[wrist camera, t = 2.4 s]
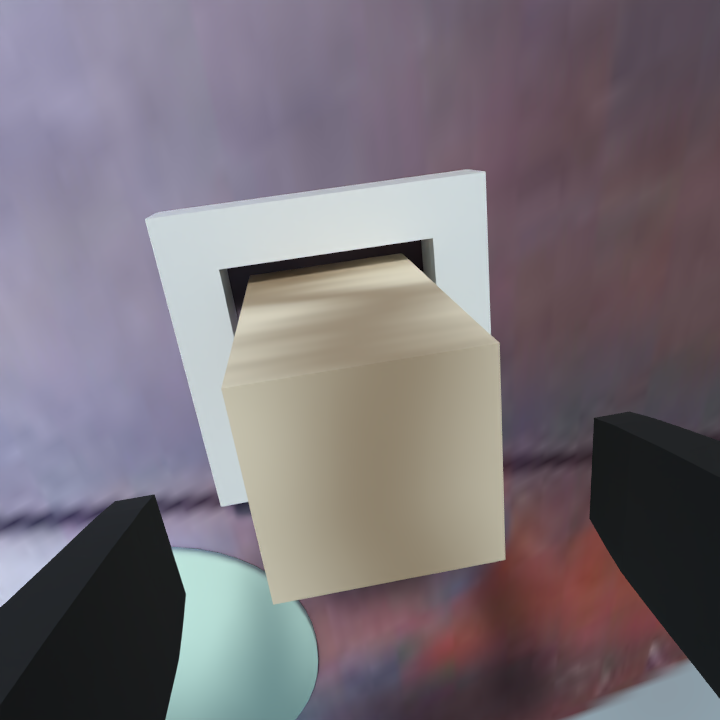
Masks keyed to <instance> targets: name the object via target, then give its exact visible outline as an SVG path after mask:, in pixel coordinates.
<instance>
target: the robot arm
mask: <svg viewBox="0 0 720 720" xmlns="http://www.w3.org/2000/svg"><path fill="white" fill-rule="evenodd" d="M590 520H591V522H592V524H593V525H594V527H595V529H596V531H597V532H598V534H599V536H600V538H601V539H602V541H603V543H604V545H605V546H606V548H607V550H608V551H609V553H610V555H611V556H612V558H613V559H614V561H615V563H616V564H617V566H618V568H619V569H620V571H621V572H622V574H623V575H624V576H625V578H626V579H627V580H628V582H629V583H630V584H631V586H632V587H633V588H634V590H635V591H636V592H637V593H638V595H639V596H640V597H641V599H642V600H643V601H644V602H645V604H646V605H647V606H648V608H649V609H650V610H651V612H652V613H653V614H654V615H655V617H656V618H657V619H658V621H659V622H660V623H661V624H662V626H663V627H664V628H665V629H666V631H667V632H668V633H669V635H670V636H671V637H672V638H673V640H674V641H675V642H676V643H677V645H678V646H679V647H680V649H681V650H682V651H683V652H684V654H685V655H686V656H687V657H688V659H689V660H690V661H691V663H692V664H693V665H694V666H695V668H696V669H697V670H698V671H699V673H700V674H701V675H702V676H703V678H704V679H705V680H706V682H707V683H708V684H709V685H710V687H711V688H712V689H713V691H714V692H715V693H716V694H717V696H718V697H719V698H720V441H718V440H715V439H712V438H709V437H706V436H704V435H701V434H698V433H695V432H692V431H690V430H687V429H684V428H681V427H678V426H675V425H672V424H669V423H666V422H663V421H660V420H657V419H654V418H651V417H647V416H644V415H640V414H636V413H632V412H625V413H620V414H614V415H608V416H602V417H597V418H594V433H593V455H592V477H591V499H590ZM185 600H186V592H185V589H184V586H183V583H182V580H181V577H180V574H179V570H178V567H177V564H176V561H175V558H174V555H173V551H172V548H171V545H170V542H169V539H168V536H167V533H166V529H165V526H164V523H163V520H162V517H161V514H160V511H159V507H158V504H157V501H156V498H155V495H149V496H143V497H138V498H132V499H126V500H120V501H115V502H114V503H113V504H111V505H110V506H109V507H108V508H106V509H105V510H104V511H103V512H102V513H101V514H100V515H98V516H97V517H96V518H95V519H94V520H93V521H92V522H91V523H90V524H89V525H88V526H87V527H85V528H84V529H83V530H82V531H81V532H80V533H79V534H78V535H77V536H76V537H75V538H74V539H73V540H72V541H71V542H70V543H69V544H68V545H67V546H65V547H64V548H63V549H62V550H61V551H60V552H59V553H58V554H57V555H56V556H55V557H54V558H53V559H52V560H51V561H50V562H49V563H48V564H46V565H45V566H44V567H43V568H42V569H41V570H40V571H39V572H38V573H37V574H36V575H35V576H34V577H33V578H32V579H31V580H29V581H28V582H27V583H26V584H25V585H24V586H23V587H22V588H21V589H20V590H19V591H18V592H17V593H16V594H15V595H14V596H12V597H11V598H10V599H9V600H8V601H7V602H6V603H5V604H4V605H3V606H1V607H0V720H165V719H166V715H167V710H168V706H169V702H170V697H171V693H172V689H173V684H174V680H175V676H176V671H177V666H178V662H179V656H180V648H181V640H182V631H183V622H184V611H185Z"/></svg>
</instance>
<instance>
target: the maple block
mask: <svg viewBox="0 0 720 720" xmlns="http://www.w3.org/2000/svg"><path fill="white" fill-rule="evenodd" d="M221 390H222V394H223V398H224V402H225V406H226V411H227V415H228V419H229V423H230V427H231V431H232V435H233V440H234V444H235V448H236V452H237V456H238V460H239V465H240V469H241V473H242V477H243V481H244V485H245V490H246V494H247V498H248V502H249V506H250V510H251V515H252V519H253V523H254V527H255V531H256V535H257V539H258V544H259V548H260V552H261V556H262V560H263V564H264V569H265V573H266V577H267V581H268V585H269V589H270V594H271V598H272V602H273V605H274V604H280V603H285V602H290V601H295V600H300V599H305V598H311V597H316V596H321V595H326V594H331V593H336V592H342V591H347V590H352V589H357V588H362V587H367V586H372V585H378V584H383V583H388V582H393V581H398V580H403V579H409V578H414V577H419V576H424V575H429V574H434V573H440V572H445V571H450V570H455V569H460V568H465V567H471V566H476V565H481V564H486V563H491V562H496V561H502V560H505V529H504V492H503V455H502V418H501V381H500V343H499V342H498V341H497V340H496V339H495V338H493V337H492V336H491V335H490V334H489V333H488V332H487V331H486V330H485V329H484V328H483V327H481V326H480V325H479V324H478V323H477V322H476V321H475V320H474V319H473V318H472V317H471V316H470V315H468V314H467V313H466V312H465V311H464V310H463V309H462V308H461V307H460V306H459V305H458V304H457V303H455V302H454V301H453V300H452V299H451V298H450V297H449V296H448V295H447V294H446V293H445V292H443V291H442V290H441V289H440V288H439V287H438V286H437V285H436V284H435V283H434V282H433V281H432V280H430V279H429V278H428V277H427V276H426V275H425V274H424V273H423V272H422V271H421V270H420V269H418V268H417V267H416V266H415V265H414V264H413V263H412V262H411V261H410V260H409V259H408V258H407V257H405V256H404V255H403V254H402V253H398V254H392V255H385V256H378V257H371V258H365V259H358V260H351V261H344V262H338V263H331V264H324V265H318V266H311V267H304V268H297V269H291V270H284V271H277V272H270V273H264V274H257V275H250V278H249V281H248V285H247V289H246V293H245V297H244V301H243V305H242V309H241V313H240V317H239V321H238V325H237V329H236V332H235V336H234V340H233V344H232V348H231V352H230V356H229V360H228V364H227V368H226V372H225V376H224V380H223V383H222V387H221Z"/></svg>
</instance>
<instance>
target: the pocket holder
mask: <svg viewBox="0 0 720 720" xmlns="http://www.w3.org/2000/svg"><path fill="white" fill-rule="evenodd" d="M145 222H146V225H147V229H148V233H149V237H150V240H151V244H152V248H153V252H154V256H155V259H156V263H157V267H158V271H159V274H160V278H161V282H162V286H163V289H164V293H165V297H166V301H167V305H168V308H169V312H170V316H171V320H172V323H173V327H174V331H175V335H176V339H177V342H178V346H179V350H180V354H181V357H182V361H183V365H184V369H185V373H186V376H187V380H188V384H189V388H190V391H191V395H192V399H193V403H194V406H195V410H196V414H197V418H198V422H199V425H200V429H201V433H202V437H203V440H204V444H205V448H206V452H207V456H208V459H209V463H210V467H211V471H212V474H213V478H214V482H215V486H216V490H217V493H218V497H219V501H220V505H221V507H222V506H228V505H233V504H239V503H244V502H248V498H247V494H246V490H245V485H244V481H243V477H242V473H241V469H240V465H239V460H238V456H237V452H236V448H235V444H234V440H233V435H232V431H231V427H230V423H229V419H228V415H227V411H226V406H225V402H224V398H223V394H222V390H221V387H222V383H223V380H224V376H225V372H226V368H227V364H228V360H229V356H230V352H231V348H232V344H233V340H234V336H235V332H236V329H237V325H238V318H237V313H236V308H235V304H234V299H233V294H232V290H231V285H230V281H229V276H228V271H227V268H233V267H240V266H247V265H254V264H261V263H267V262H274V261H281V260H288V259H295V258H301V257H308V256H315V255H322V254H328V253H335V252H342V251H349V250H356V249H362V248H369V247H376V246H383V245H389V244H396V243H403V242H410V241H417V240H421V247H422V259H423V272H424V274H425V275H426V276H427V277H428V278H429V279H430V280H432V281H433V282H434V283H435V284H436V285H437V286H438V287H439V288H440V289H441V290H442V291H443V292H445V293H446V294H447V295H448V296H449V297H450V298H451V299H452V300H453V301H454V302H455V303H457V304H458V305H459V306H460V307H461V308H462V309H463V310H464V311H465V312H466V313H467V314H468V315H470V316H471V317H472V318H473V319H474V320H475V321H476V322H477V323H478V324H479V325H480V326H481V327H483V328H484V329H485V330H486V331H487V332H488V333H489V334H490V335H491V325H490V295H489V265H488V235H487V204H486V174H485V172H484V171H477V170H470V169H466V170H458V171H451V172H444V173H437V174H429V175H422V176H415V177H408V178H401V179H393V180H386V181H379V182H372V183H365V184H357V185H350V186H343V187H336V188H328V189H321V190H314V191H307V192H300V193H292V194H285V195H278V196H271V197H264V198H256V199H249V200H242V201H235V202H227V203H220V204H213V205H206V206H199V207H191V208H184V209H177V210H170V211H163V212H157V213H155V214H153V215H152V216H150V217H148V218H146V219H145Z"/></svg>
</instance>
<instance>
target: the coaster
mask: <svg viewBox="0 0 720 720" xmlns="http://www.w3.org/2000/svg"><path fill="white" fill-rule="evenodd" d="M171 548H172V551H173V555H174V558H175V561H176V564H177V567H178V570H179V574H180V577H181V580H182V583H183V586H184V589H185V592H186V600H185V611H184V622H183V631H182V640H181V648H180V656H179V662H178V666H177V671H176V676H175V680H174V684H173V689H172V693H171V697H170V702H169V706H168V710H167V715H166V719H165V720H295V719H296V718H297V717H298V716H299V715H300V713H301V712H302V710H303V709H304V707H305V705H306V704H307V702H308V701H309V698H310V696H311V694H312V691H313V689H314V686H315V682H316V677H317V671H318V651H317V642H316V635H315V632H314V628H313V625H312V622H311V620H310V618H309V616H308V614H307V612H306V610H305V608H304V607H303V606H302V604H301V603H300V602H299V600H295V601H290V602H285V603H280V604H274V605H273V602H272V598H271V594H270V589H269V585H268V581H267V577H266V573H265V571H263V570H261V569H260V568H258V567H256V566H254V565H252V564H250V563H247V562H245V561H243V560H240V559H238V558H235V557H231V556H228V555H225V554H221V553H218V552H212V551H207V550H201V549H194V548H181V547H171Z"/></svg>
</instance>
